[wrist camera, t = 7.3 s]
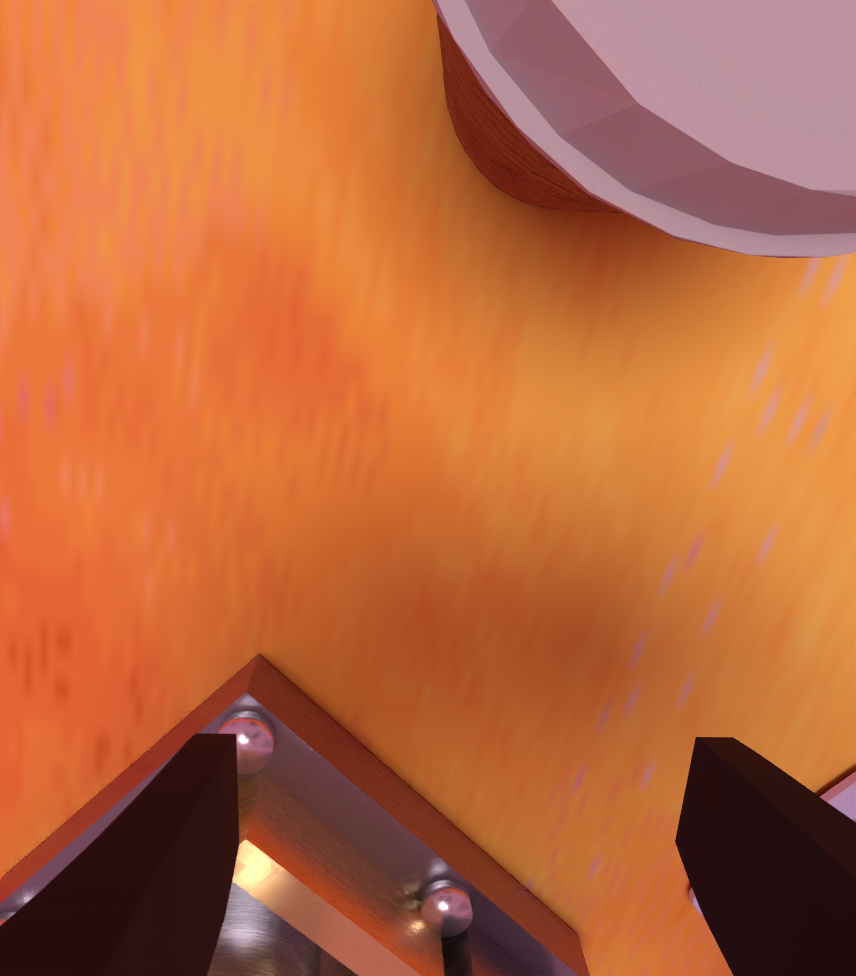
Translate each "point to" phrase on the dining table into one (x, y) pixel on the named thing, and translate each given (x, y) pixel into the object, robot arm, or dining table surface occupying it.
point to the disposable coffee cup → (666, 113)
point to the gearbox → (336, 848)
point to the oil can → (261, 942)
